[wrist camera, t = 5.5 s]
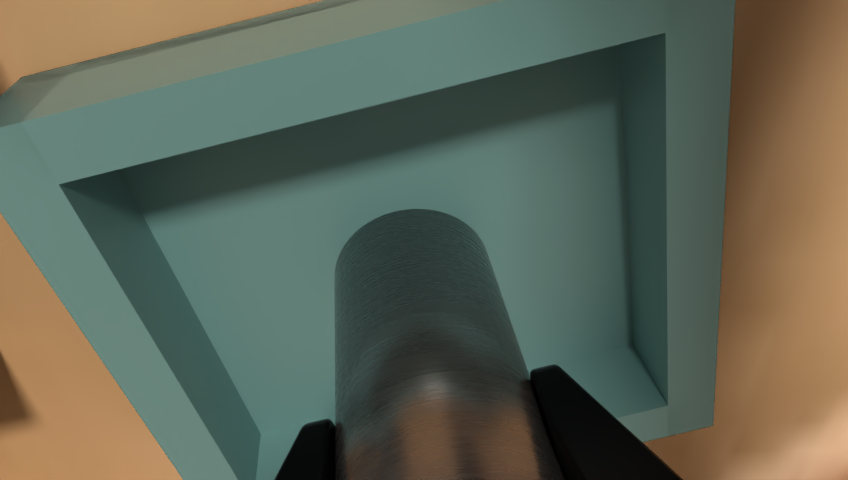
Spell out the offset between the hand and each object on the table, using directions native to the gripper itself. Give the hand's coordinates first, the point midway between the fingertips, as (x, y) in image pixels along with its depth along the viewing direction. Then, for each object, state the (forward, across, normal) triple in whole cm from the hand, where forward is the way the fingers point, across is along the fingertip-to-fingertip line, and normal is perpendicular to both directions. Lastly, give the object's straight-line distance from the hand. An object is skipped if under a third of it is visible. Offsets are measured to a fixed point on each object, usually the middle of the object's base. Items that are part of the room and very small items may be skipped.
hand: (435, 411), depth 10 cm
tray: (+5, 0, 0) cm, 5 cm away
